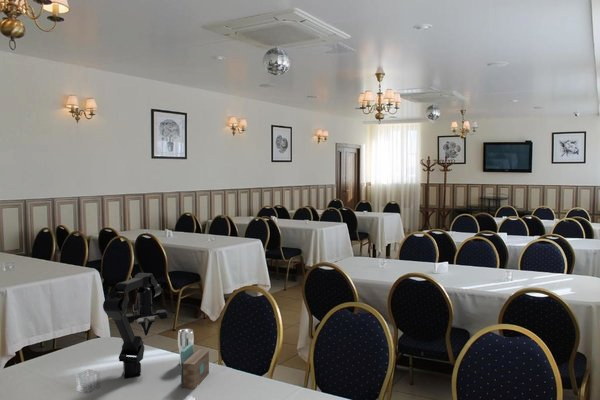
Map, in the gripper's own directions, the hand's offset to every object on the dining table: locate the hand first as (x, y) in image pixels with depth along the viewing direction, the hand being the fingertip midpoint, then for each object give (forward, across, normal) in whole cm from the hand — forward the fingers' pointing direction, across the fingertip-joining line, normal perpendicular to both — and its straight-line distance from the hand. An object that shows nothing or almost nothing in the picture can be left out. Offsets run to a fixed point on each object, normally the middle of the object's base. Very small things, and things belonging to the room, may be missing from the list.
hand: (145, 335), depth 233 cm
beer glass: (+13, -16, +8) cm, 22 cm away
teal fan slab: (+13, -14, +27) cm, 33 cm away
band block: (+13, -15, +28) cm, 34 cm away
